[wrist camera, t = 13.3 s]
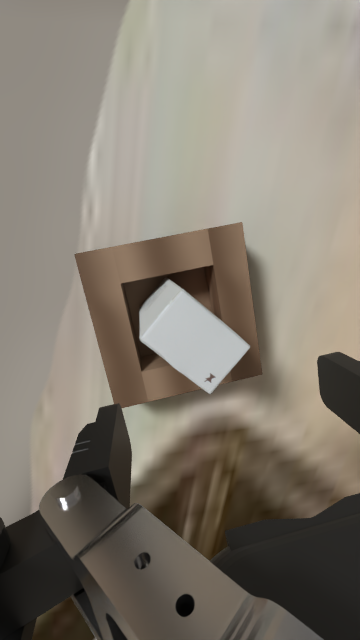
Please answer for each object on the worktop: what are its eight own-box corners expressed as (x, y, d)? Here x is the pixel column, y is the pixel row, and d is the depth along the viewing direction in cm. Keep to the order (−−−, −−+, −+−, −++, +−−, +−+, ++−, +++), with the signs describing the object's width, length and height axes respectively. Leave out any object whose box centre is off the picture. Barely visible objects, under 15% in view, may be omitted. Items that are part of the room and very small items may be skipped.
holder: (225, 227, 30) (242, 222, 25) (244, 356, 33) (262, 374, 28) (84, 254, 28) (74, 254, 24) (119, 386, 32) (115, 409, 27)
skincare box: (210, 312, 30) (254, 348, 19) (183, 344, 31) (210, 398, 19) (164, 274, 29) (182, 286, 17) (136, 307, 29) (136, 342, 18)
